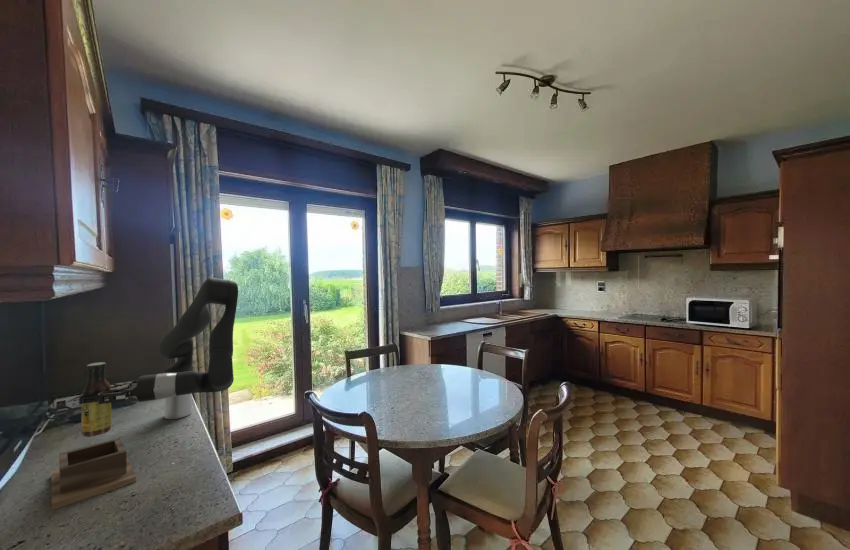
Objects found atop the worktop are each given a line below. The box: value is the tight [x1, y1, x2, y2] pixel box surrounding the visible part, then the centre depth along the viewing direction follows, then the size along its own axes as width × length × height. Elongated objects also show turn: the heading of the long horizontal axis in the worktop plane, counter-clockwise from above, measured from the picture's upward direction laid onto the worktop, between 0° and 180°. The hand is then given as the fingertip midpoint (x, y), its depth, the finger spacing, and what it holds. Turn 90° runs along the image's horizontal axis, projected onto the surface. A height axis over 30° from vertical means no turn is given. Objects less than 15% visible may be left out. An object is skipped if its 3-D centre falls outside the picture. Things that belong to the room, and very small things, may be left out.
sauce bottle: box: [80, 361, 112, 438], centre depth 99 cm, size 7×6×20 cm
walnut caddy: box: [51, 437, 137, 511], centre depth 98 cm, size 22×16×8 cm
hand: (85, 396), depth 98 cm, fingers closed on sauce bottle, 6 cm apart
